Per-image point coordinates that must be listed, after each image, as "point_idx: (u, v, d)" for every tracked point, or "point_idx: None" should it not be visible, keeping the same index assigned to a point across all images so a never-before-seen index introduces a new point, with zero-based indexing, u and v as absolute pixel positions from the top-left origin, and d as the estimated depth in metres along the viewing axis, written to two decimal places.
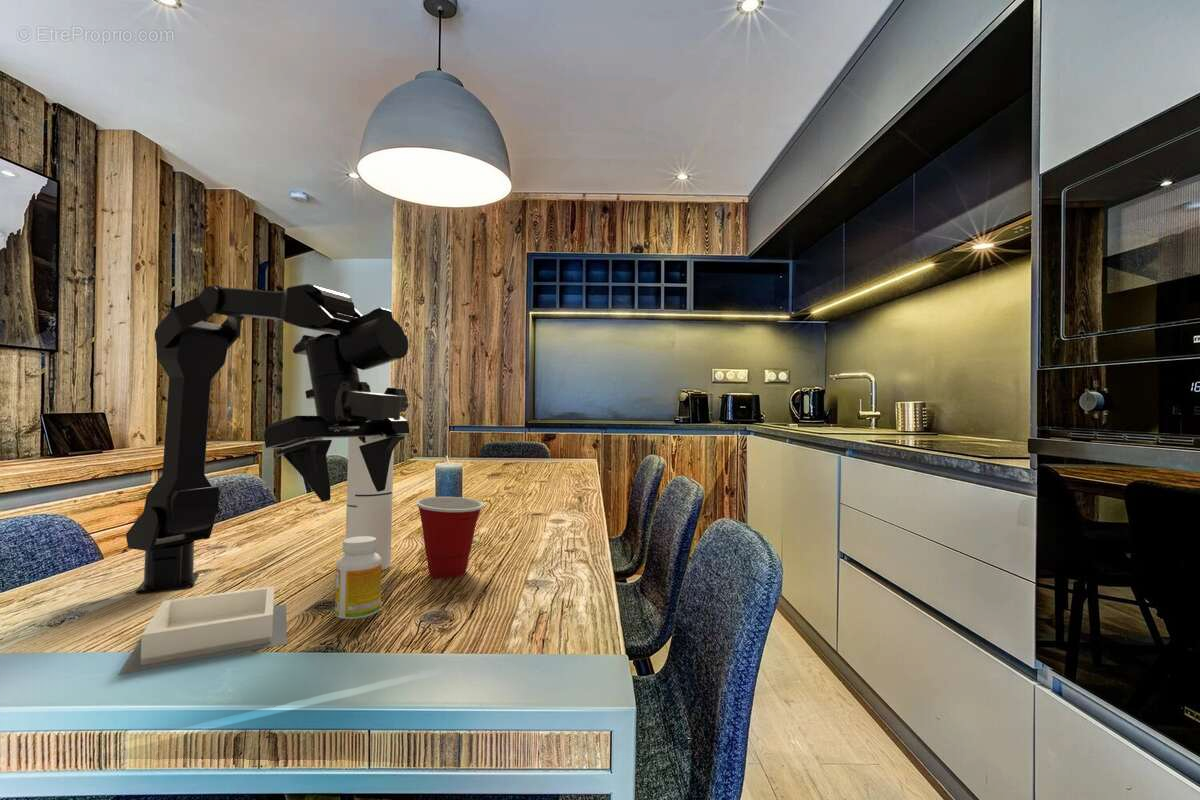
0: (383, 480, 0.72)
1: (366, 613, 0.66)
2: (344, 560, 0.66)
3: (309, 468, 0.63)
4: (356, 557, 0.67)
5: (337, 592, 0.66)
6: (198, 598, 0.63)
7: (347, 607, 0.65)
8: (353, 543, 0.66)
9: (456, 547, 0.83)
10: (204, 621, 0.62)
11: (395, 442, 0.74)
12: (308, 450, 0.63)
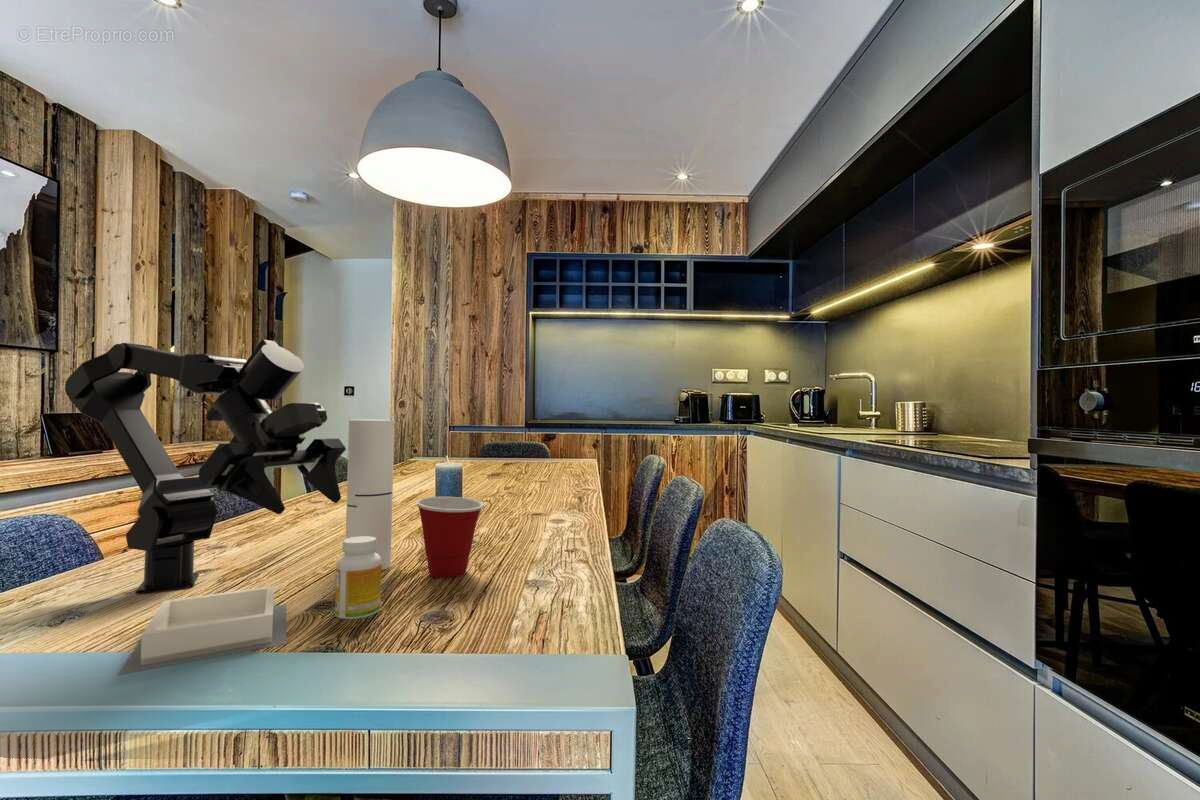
0: (336, 490, 0.75)
1: (366, 613, 0.66)
2: (344, 560, 0.66)
3: (254, 490, 0.66)
4: (356, 557, 0.67)
5: (337, 592, 0.66)
6: (198, 598, 0.63)
7: (347, 607, 0.65)
8: (353, 543, 0.66)
9: (456, 547, 0.83)
10: (204, 621, 0.62)
11: (333, 456, 0.78)
12: (247, 476, 0.67)
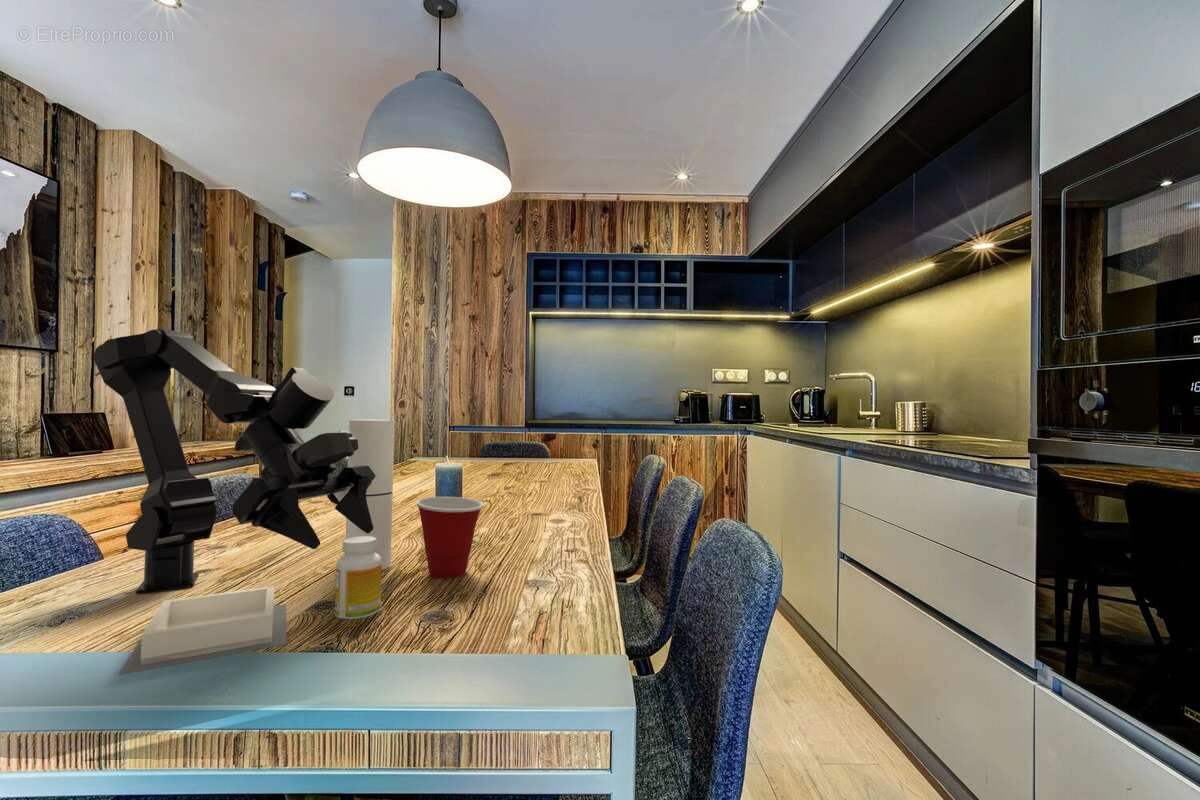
0: (368, 520, 0.74)
1: (366, 613, 0.66)
2: (344, 560, 0.66)
3: (288, 525, 0.65)
4: (356, 557, 0.67)
5: (337, 592, 0.66)
6: (198, 598, 0.63)
7: (347, 607, 0.65)
8: (353, 543, 0.66)
9: (456, 547, 0.83)
10: (204, 621, 0.62)
11: (364, 485, 0.76)
12: (281, 510, 0.65)
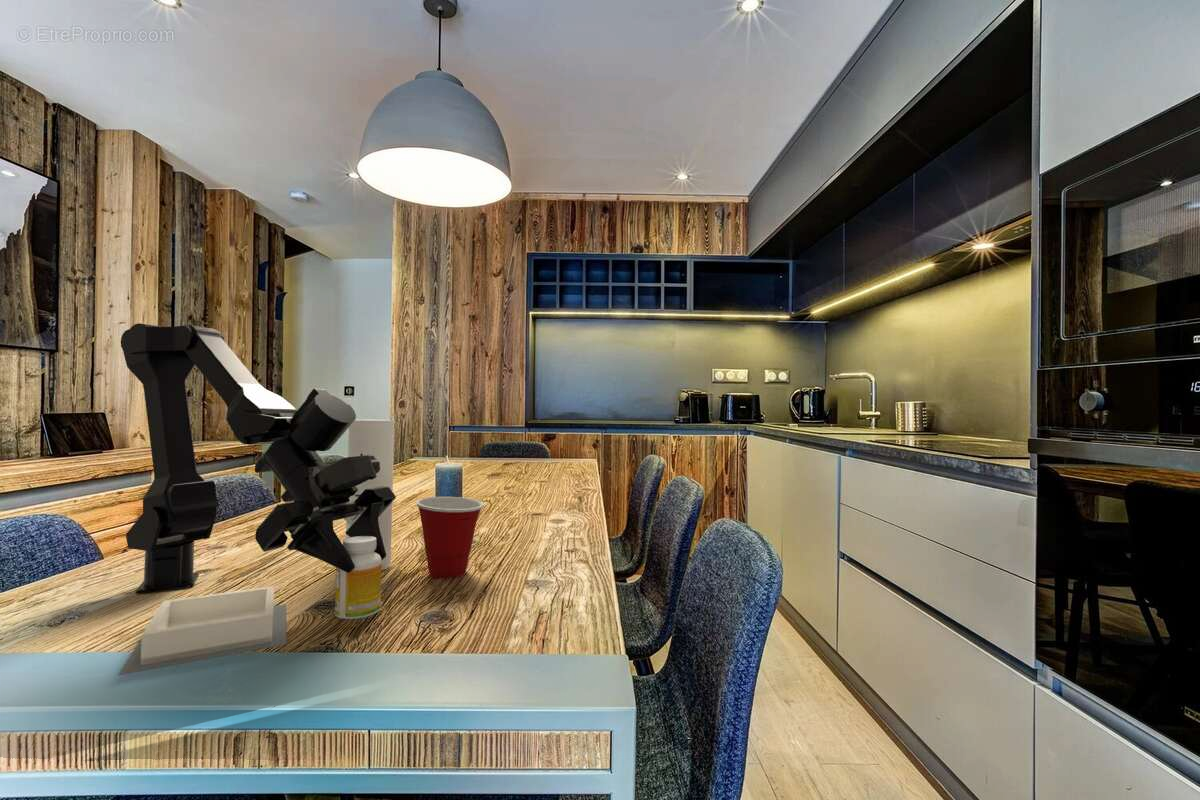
0: (381, 547, 0.71)
1: (366, 613, 0.66)
2: None
3: (323, 548, 0.65)
4: (356, 557, 0.67)
5: (337, 592, 0.66)
6: (198, 598, 0.63)
7: (347, 607, 0.65)
8: (353, 543, 0.66)
9: (456, 547, 0.83)
10: (204, 621, 0.62)
11: (376, 509, 0.73)
12: (315, 533, 0.66)
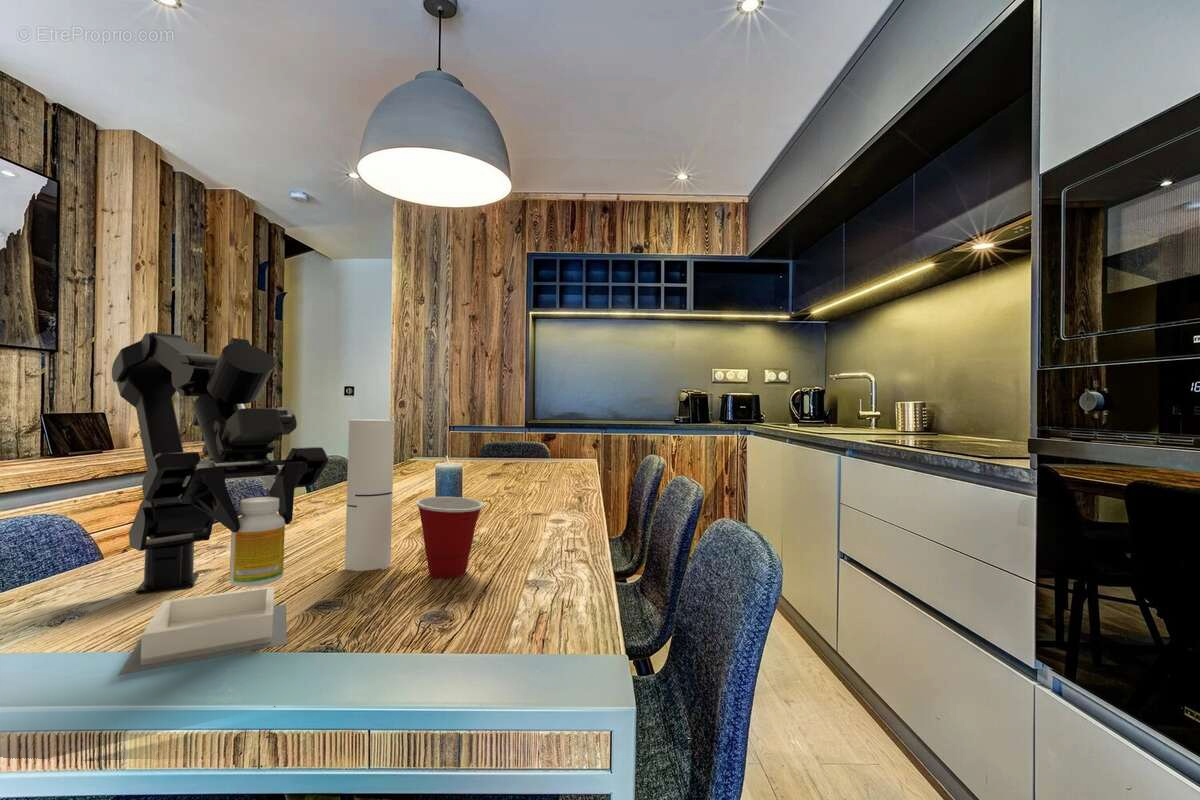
0: (287, 509, 0.65)
1: (255, 580, 0.60)
2: None
3: (213, 504, 0.61)
4: (248, 518, 0.61)
5: None
6: (198, 598, 0.63)
7: (235, 571, 0.60)
8: (245, 502, 0.61)
9: (456, 547, 0.83)
10: (204, 621, 0.62)
11: (294, 469, 0.67)
12: None
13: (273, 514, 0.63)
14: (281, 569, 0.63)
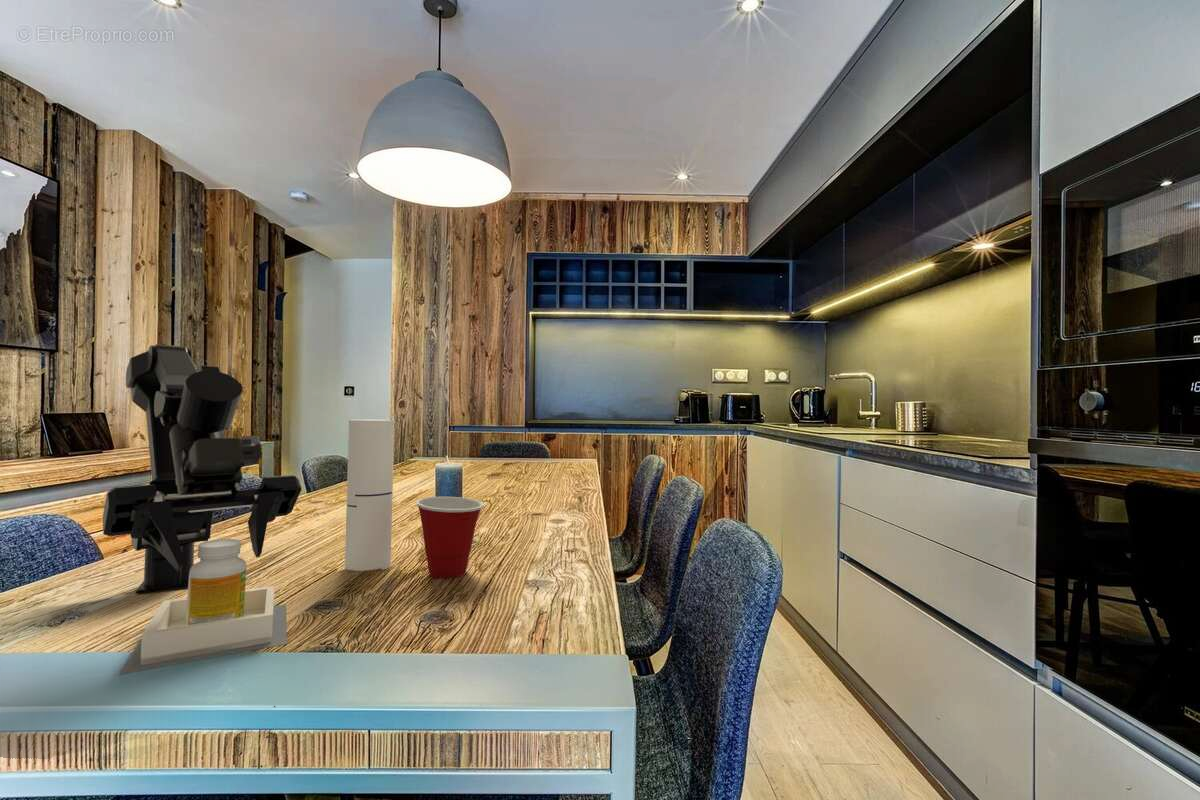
0: (257, 542, 0.63)
1: None
2: (194, 565, 0.59)
3: (161, 540, 0.58)
4: (204, 563, 0.59)
5: (188, 599, 0.59)
6: None
7: (189, 618, 0.58)
8: (202, 547, 0.59)
9: (456, 547, 0.83)
10: None
11: (269, 499, 0.66)
12: None
13: (232, 559, 0.60)
14: None
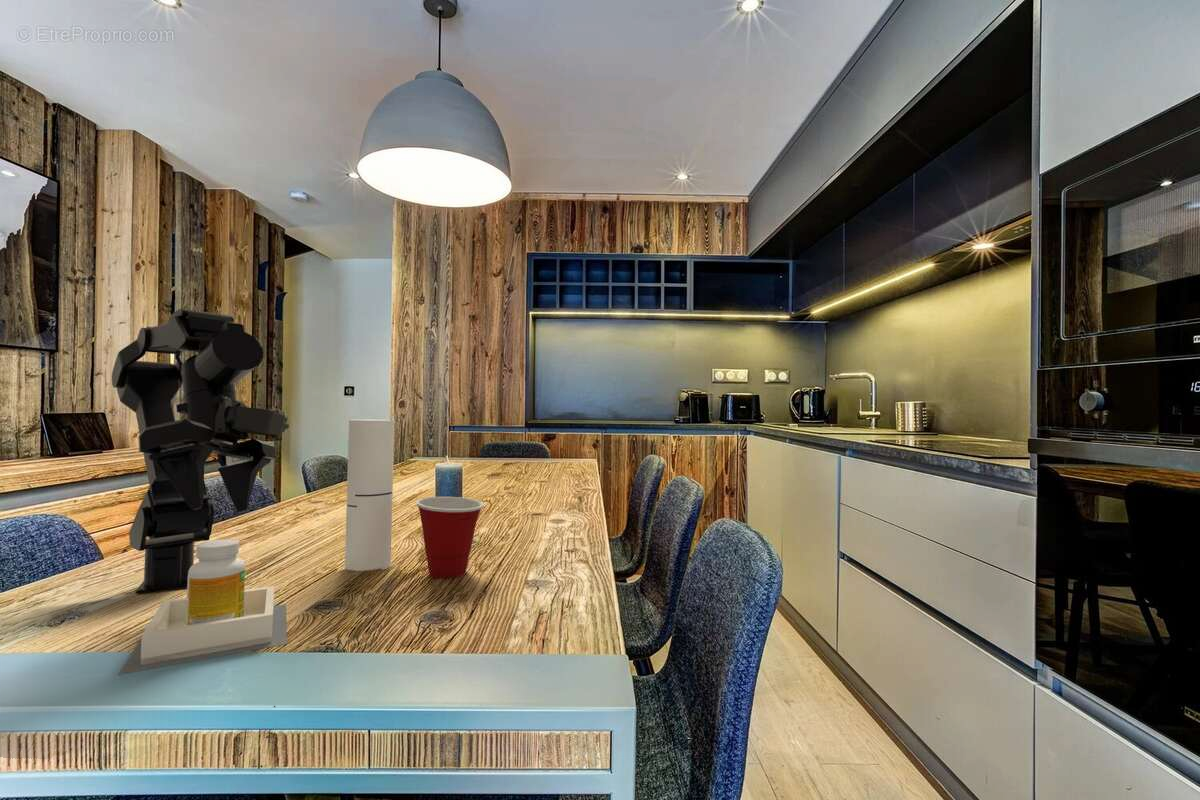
0: (246, 500, 0.73)
1: None
2: (192, 566, 0.59)
3: (183, 475, 0.63)
4: (203, 563, 0.59)
5: None
6: None
7: (188, 619, 0.58)
8: (200, 547, 0.59)
9: (456, 547, 0.83)
10: None
11: (262, 464, 0.76)
12: (184, 457, 0.64)
13: (230, 559, 0.60)
14: None
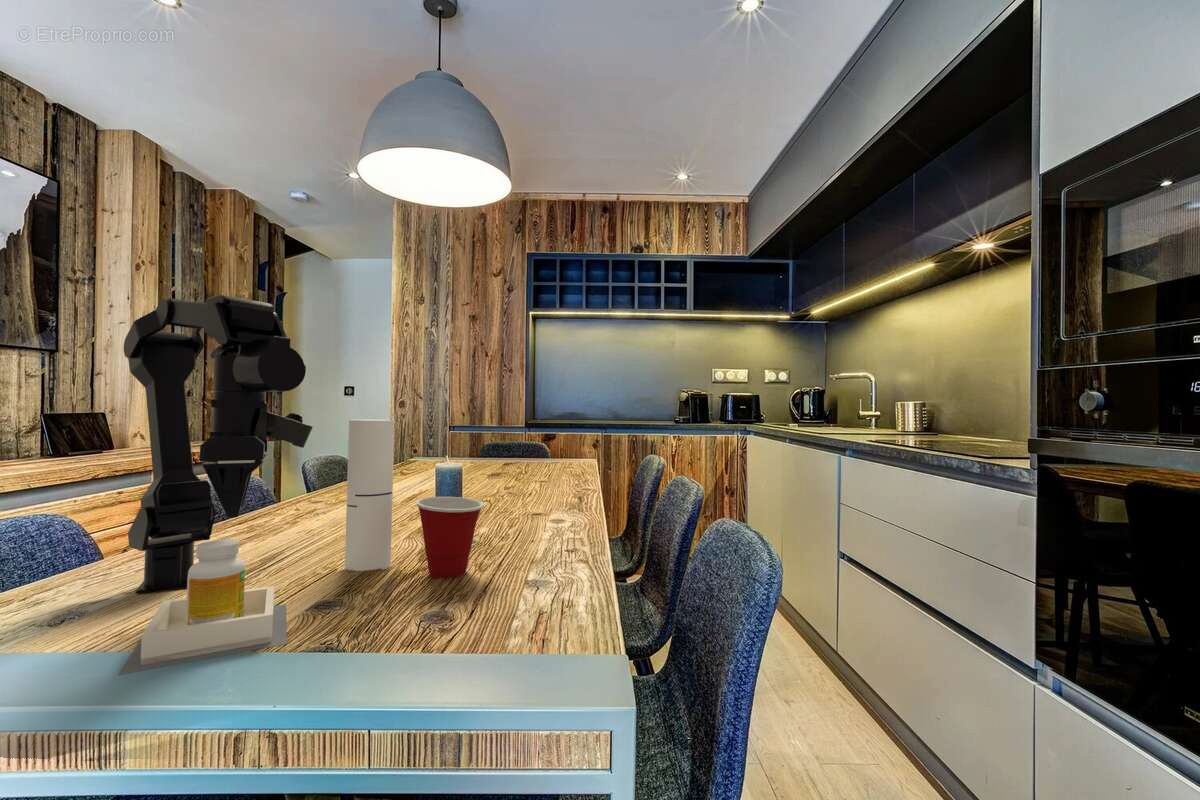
0: (245, 496, 0.73)
1: None
2: (192, 566, 0.59)
3: (229, 484, 0.64)
4: (202, 563, 0.59)
5: None
6: None
7: (188, 619, 0.58)
8: (200, 547, 0.59)
9: (456, 547, 0.83)
10: None
11: None
12: (232, 466, 0.64)
13: (230, 559, 0.60)
14: (238, 617, 0.61)
